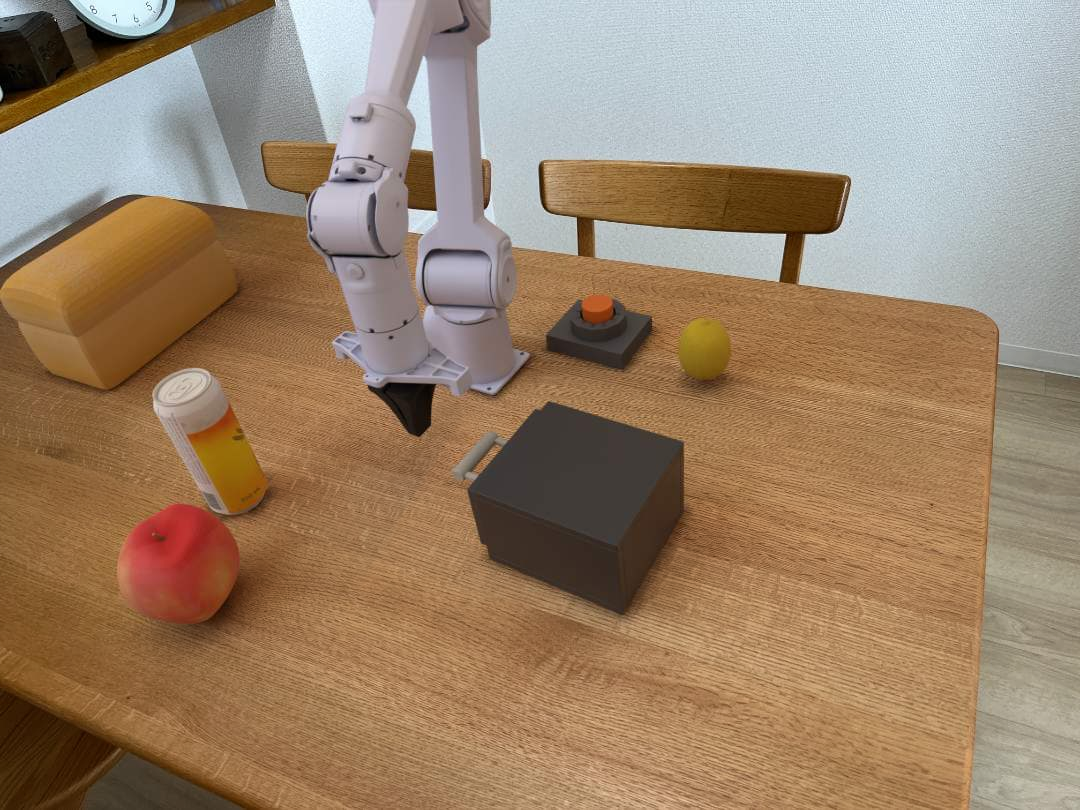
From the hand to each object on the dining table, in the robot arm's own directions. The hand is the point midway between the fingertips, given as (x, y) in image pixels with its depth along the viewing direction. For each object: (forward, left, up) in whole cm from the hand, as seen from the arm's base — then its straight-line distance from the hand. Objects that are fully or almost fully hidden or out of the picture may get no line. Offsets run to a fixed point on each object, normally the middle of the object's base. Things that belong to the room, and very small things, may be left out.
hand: (420, 429), depth 78 cm
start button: (+5, +27, -3) cm, 28 cm away
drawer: (+14, 0, -6) cm, 15 cm away
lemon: (+19, +25, -7) cm, 32 cm away
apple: (-10, -22, -7) cm, 25 cm away
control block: (+5, +27, -7) cm, 28 cm away
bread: (-54, +6, -7) cm, 55 cm away
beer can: (-17, -11, -7) cm, 21 cm away
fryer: (+18, 0, -7) cm, 19 cm away
